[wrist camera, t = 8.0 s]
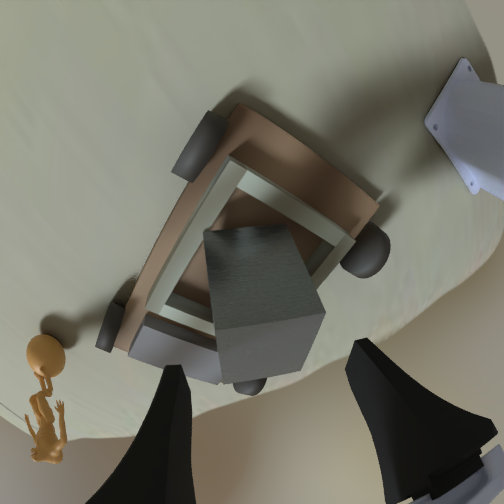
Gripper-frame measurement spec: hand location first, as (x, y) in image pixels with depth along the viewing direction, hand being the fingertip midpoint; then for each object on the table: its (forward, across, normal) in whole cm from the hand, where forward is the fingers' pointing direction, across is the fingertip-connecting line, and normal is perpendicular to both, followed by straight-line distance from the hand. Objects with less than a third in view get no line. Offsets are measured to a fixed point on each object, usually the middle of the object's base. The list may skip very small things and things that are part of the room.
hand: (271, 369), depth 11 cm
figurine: (+10, +18, +8) cm, 22 cm away
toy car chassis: (+9, +1, +2) cm, 10 cm away
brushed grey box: (+8, 0, 0) cm, 8 cm away
